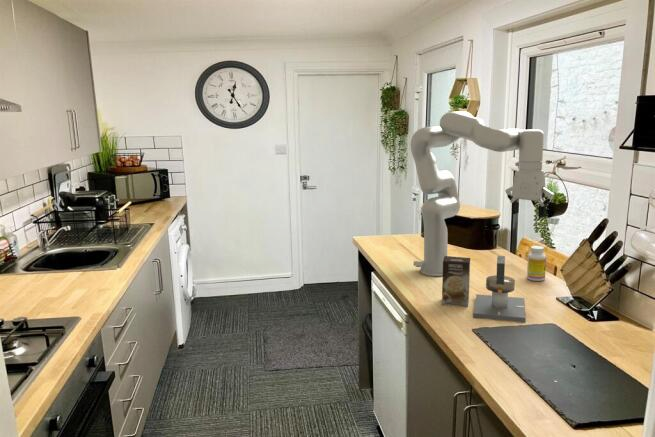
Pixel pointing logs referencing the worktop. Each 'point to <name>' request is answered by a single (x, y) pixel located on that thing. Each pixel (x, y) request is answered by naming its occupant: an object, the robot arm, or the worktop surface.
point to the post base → (505, 312)
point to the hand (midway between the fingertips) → (528, 215)
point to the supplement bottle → (536, 264)
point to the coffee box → (456, 281)
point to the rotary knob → (500, 279)
